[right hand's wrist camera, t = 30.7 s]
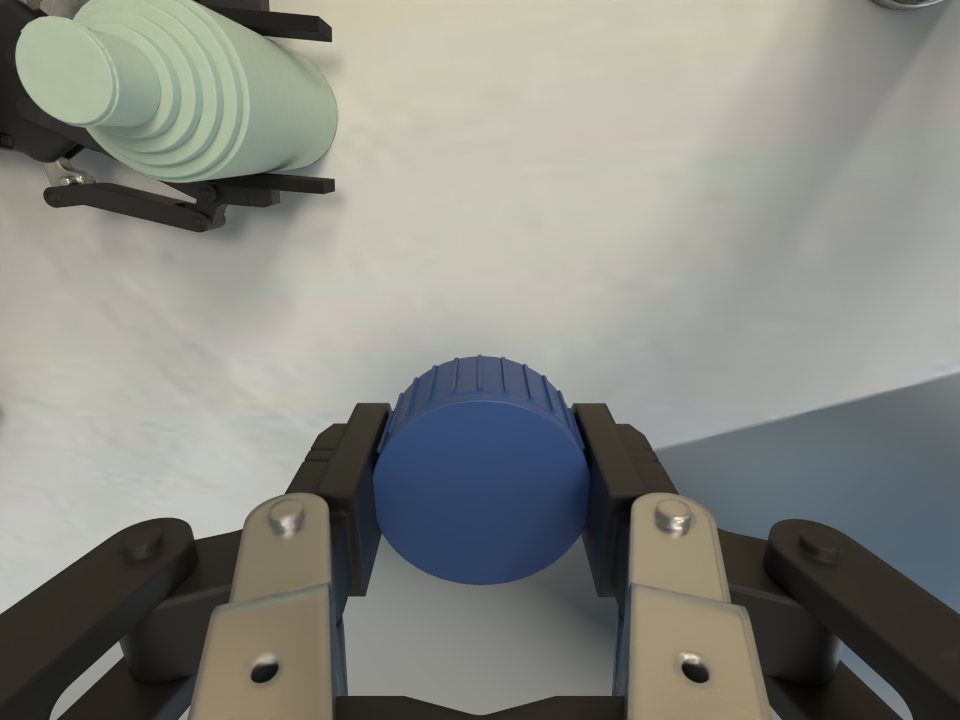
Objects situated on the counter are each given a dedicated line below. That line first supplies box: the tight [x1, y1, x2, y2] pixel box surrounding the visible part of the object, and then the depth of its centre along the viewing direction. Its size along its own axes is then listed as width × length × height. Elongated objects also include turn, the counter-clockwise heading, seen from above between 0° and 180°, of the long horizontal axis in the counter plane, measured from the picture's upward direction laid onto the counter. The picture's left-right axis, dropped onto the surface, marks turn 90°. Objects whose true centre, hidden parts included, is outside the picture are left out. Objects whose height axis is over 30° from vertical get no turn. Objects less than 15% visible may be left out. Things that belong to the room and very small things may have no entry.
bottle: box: [15, 0, 337, 183], centre depth 27 cm, size 8×8×21 cm
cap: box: [373, 355, 590, 585], centre depth 11 cm, size 4×4×2 cm
